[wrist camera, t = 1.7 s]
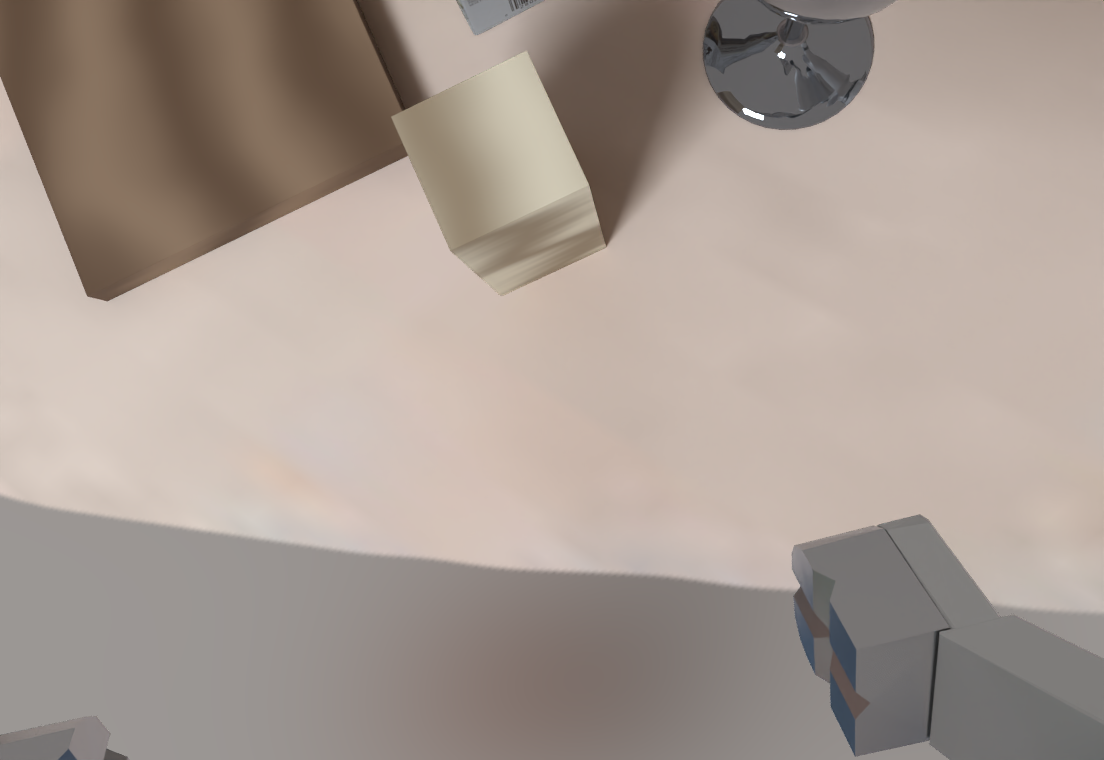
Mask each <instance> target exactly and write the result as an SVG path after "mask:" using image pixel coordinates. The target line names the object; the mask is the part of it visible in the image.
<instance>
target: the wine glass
mask: <svg viewBox="0 0 1104 760" xmlns="http://www.w3.org/2000/svg"><path fill="white" fill-rule="evenodd" d="M896 1H898V0H720V2H719V3H718V4H717V6H716V8H715V9H714V11H713V13H712V15H711V16H710V19H709V22H708V24H707V27H706V30H705V35H704V41H703V61H704V66H705V71H706V74H707V77H708V79H709V82H710V85H711V86H712V88H713V90H714V91H715V93H716V94H717V96H718V98H719V99H720V100H721V101H722V102H723V103H724V104H725V105H726V106H727V108H729V109H730V110H731V111H733V112H734V113H735V114H736V115H738V116H739V117H741V118H743V119H745V120H747V121H749V122H750V123H753V124H756V125H759V126H762V127H765V128H771V129H779V130H791V129H800V128H805V127H810V126H813V125H816V124H818V123H821V122H823V121H826V120H827V119H829V118H831V117H832V116H834V115H836V114H838V113H839V112H840V111H841V110H842V109H844V108H845V107H846V106H847V105H848V104H849V103H850V102H851V101H852V100H853V99H854V97H855V96H856V95H857V94H858V93H859V91H860V90H861V88H862V86H863V84H864V83H865V81H866V79H867V76H868V74H869V71H870V68H871V65H872V59H873V53H874V36H873V32H872V27H871V22H870V20H869V17H868V16H869V15H872V14H874V13H877V12H879V11H881V10H883V9H885V8H886V7H888V6H890V5H891V4H893V3H895V2H896Z"/></svg>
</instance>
